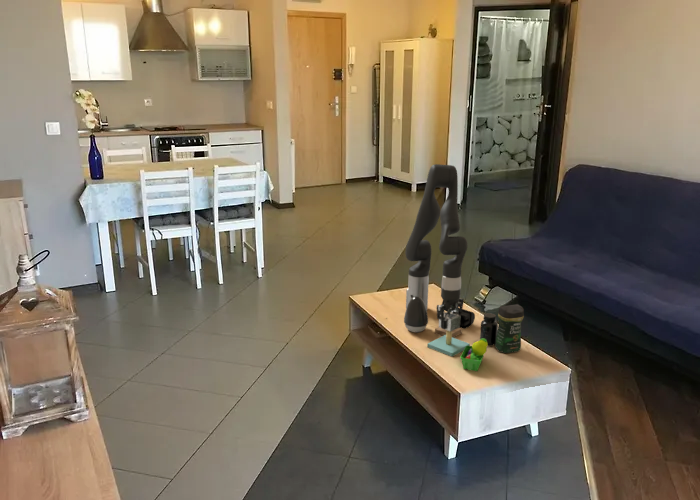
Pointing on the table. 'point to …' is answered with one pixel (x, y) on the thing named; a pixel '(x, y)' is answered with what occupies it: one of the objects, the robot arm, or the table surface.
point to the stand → (443, 331)
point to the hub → (448, 344)
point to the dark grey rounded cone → (416, 315)
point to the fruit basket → (474, 355)
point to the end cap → (466, 318)
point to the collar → (452, 321)
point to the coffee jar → (509, 328)
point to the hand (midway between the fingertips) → (449, 326)
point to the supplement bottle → (489, 328)
